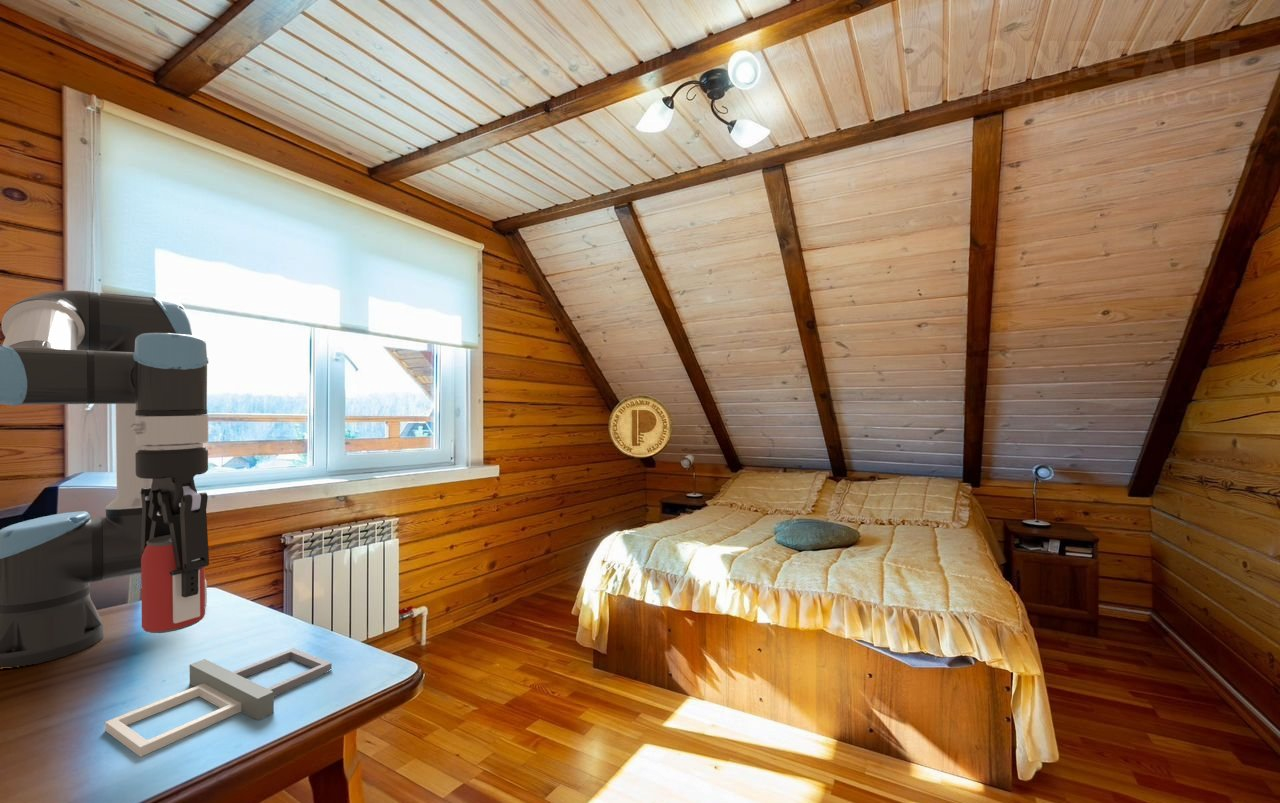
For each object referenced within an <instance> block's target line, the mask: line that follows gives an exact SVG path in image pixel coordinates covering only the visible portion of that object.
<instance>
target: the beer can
mask: <svg viewBox="0 0 1280 803" xmlns="http://www.w3.org/2000/svg"><path fill="white" fill-rule="evenodd" d="M146 544H147V546H146V548H145V550H144V552H143V554H142V558H141V573H140V578H141V579H140V581H141V582H140V584H141V587H140V589H141V590H140V592H141V594H140V595H141V598H140V600H141V628H142V630H143V631H144V632H146V633H149V634H163V633H171V632H176V631H180V630H183V629H186V628H190V627H192V626H194V625H196V624H197V623H199V622H200V621H202V620H203V619H204V618H205V615H206V605H205V580H206V572H205V571H206V568H205V567H206V566H205V567H202V569H200V616H199V617H196V618H193V619H189V620H186V621H182V622H179V623H176V624H175V623H173V576H171V575H170V571H173V570H176V564H175V558H174V552H173V546H172V539H171V535H165V536H160V537H156V538H152V539H150V540H148V541H147V542H146Z"/></svg>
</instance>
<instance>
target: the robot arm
mask: <svg viewBox="0 0 1280 803" xmlns="http://www.w3.org/2000/svg"><path fill="white" fill-rule="evenodd" d="M189 319H190V318H189V316H188V312H187V310H186V308H185V307H184V305H182V304H181V303H180V302H178V301H175V300H170V299H164V298H158V297H155V296H152V297H151V296H142V295H141V296H140V295H127V294H116V293H107V292H105V293H104V292H96V291H95V292H94V291H87V290H58V291H51V292H45V293H41V294H36V295H32V296H28V297H26V298H24V299H21V300H19V301H17V302H15V303H13V304H12V305H11V306H10V307H8V309H7V310H6V312H4V314H3V317H2V319H1V325H0V326H1V330H2V334H3V336H4V337H5V338H4V340H3V343H2V344H1V345H0V405H7V406H10V407H14V406H29V405H31V406H33V405H36V406H37V405H39V406H40V405H115V442H116V443H115V448H116V449H115V450H116V451H115V452H116V454H115V455H116V456H115V459H116V461H115V462H116V463H115V464H116V496H115V498H114V499H113V500H112V501H111V502H110V503H108V505H106V506H105V516H103V517H95V518H91V515H90V513H89V512H88V511H81V510H77V511H73V512H72V511H71V512H62V513H56V514H50V515H47V516H45V515H44V516H40V517H37V518H33V519H27V520H23V521H21V522H17V523H14V524H10V525H8V526H6V527H5V526H4V527H2V528H1V529H0V668H1V667H17V666H23V667H26V666H25V665H29V666H32V665H31V664H34V665H37V664H43V663H46V662H49V661H53V660H56V659H60V658H63V657H67V656H70V655H72V654H74V653H77V652H81V651H83V650H85V649H88V648H89V647H91V646H93V645H96V644H97V643H98V642H100V641H101V640H102V639H103V638H104V633H105V632H104V629H105V628H104V621H103V620H102V618H101V616H100V614H99V612H98V610H97V608H96V606H95V603H94V602H93V600H92V599H91V592H90V591H91V586H90V585H91V584H90V583H94V582H101V581H106V580H111V579H117V578H118V579H119V578H122V577H127V576H129V577H130V576H134V575H139V574H140V575H141V558H142V554H143V552H144V550H145V548H146V546H147V544H146V542H147V541H148V540H150V539H152V538H156V537H160V536H165V535H171V539H172V546H173V552H174V558H175V564H176V570H173V571H170V575H171V576H173V623H175V624H176V623H179V622H182V621H186V620H189V619H193V618H196V617H199V616H200V569H202V567H209V564H210V553H209V552H210V551H209V538H208V537H209V536H208V534H209V533H208V520H207V517H208V516H207V508H208V507H207V506H208V499H209V498H208V497H209V496H208V494H207V492H206V491H205V492H198V489H197V488H196V484H195V478H194V477H196V476H199V475H202V474H205V473H207V472H208V470H209V449H208V448H207V447H206V446H204V444H207V442H209V415H208V409H207V408H208V404H207V403H208V396H207V395H208V364H209V358H208V356H207V355H208V353H207V343H206V341H205V340H204V338H202V337H201V336H197V335H193V333H192V328H191V323H190V320H189ZM17 668H18V667H17Z"/></svg>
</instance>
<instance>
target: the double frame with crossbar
mask: <svg viewBox="0 0 1280 803" xmlns="http://www.w3.org/2000/svg"><path fill="white" fill-rule="evenodd" d="M292 659H293V661H295V662H297V663H299V662H300V664H302V665H305V666H307V667H309V668H310V669H307V670H306V671H303V672H301V673H298V674H296V675H294V676H291V677H290V678H287V679H285V680H283V681H280V682H278V683H275V684H273V685H271V686H269V687H265V686H263V685H261V684H258V683H256V682H254V681H252V680H250V679H248V678H247V677H249V676H252V675H254V674H257V673H260V672H262V671H265V670H267V669H269V668H271V667H274V666H277V665H279V664H282V663H284V662H286V660H287V661H289V660H292ZM332 664H333V663H332V662H330V661H327V660H325V659H323V658H319V657H317V656H314V655H312V654H309V653H307V652H305V651H303V650H302V651H301V650H300V649H296V648H294V647H292V648H289V649H287V650H286V651H282V652H280V653H278V654H275V655H272V656H270V657H267V658H264V659H262V660H259V661H258V662H254V663H252V664H249V665H247V666H244V667H242V668H240V669H237V670H234V671H231V670H229V669H227V668H225V667H222V666H221V665H218V664H216V663H214V662H212V661H210V660H208V659H205V658H204V659H201V660H198V661H195V662H192V663H190V664H189V685H192V686H193V687H191V688H188V689H186V690H183V691H181V692H178V693H175V694H173V695H170V696H168V697H165V698H162V699H160V700H157V701H155V702H152V703H150V704H147V705H145V706H142V707H140V708H139V707H138V708H137V709H134V710H132V711H129V712H127V713H124V714H122V715H120V716H117V717H113V718H112V719H109V720H106V721H104V723H105V725H104V726H105V727H104V730H105V732H107V733H108V734H109V735H111V736H112V737H113V738H114V739H116V740H117V741H118V742H119V743H121V744H122V745H124V746H125V747H126V748H128V749H129V750H130V751H132V753H133V752H134V754H136V755H137V756H138V757H140V758H141V757H143V756H146V755H148V754H150V753H153V752H154V751H157V750H159V749H161V748H164V747H165V746H168V745H170V744H172V743H174V742H177V741H179V740H181V739H183V738H186V737H188V736H190V735H192V734H194V733H196V732H199V731H201V730H203V729H205V728H208V727H210V726H212V725H214V724H216V723H218V722H221V721H223V720H225V719H229V717H231V716H235V715H236V714H238V713H240V712H241V713H244V714H245V715H247V716H249V717H251V718H253V719H255V720H257V721H260V720H262V719H264V718H266V717H268V716H270V715H272V714H275V710H274V709H275V707H274V704H275V703H274V702H275V700H274V699H275V697H276V696H278V695H280V694H282V693H284V692H287V691H289V690H292V689H294V688H296V687H298V686H300V685H302V684H303V685H304V683H307V682H308V681H311V680H314V679H316V678H319V677H320V676H322V675H324V674H323V673H325V672H327V671H329V670H330V669H332V667H333V666H332ZM329 672H330V671H329ZM327 673H328V672H327ZM325 674H326V673H325ZM197 697H199V698H201V699H203V700H205V701H207V702H209V703H211V704H213V705H214V706H216V707H218V709H216V710H214V711H211V712H209V713H207V714H205V715H202V716H200V717H198V718H195V719H194V720H193V719H192V720H190V721H188V722H186V723H184V724H182V725H179V726H177V727H174V728H172V729H170V730H168V731H165V732H164V733H161V734H159V735H156V736H154V737H152V738H149V739H146V738H144V737H143V736H141V735H140V734H139V733H138V732H136V731H135V730H133V729H132V728H131V727H129V725H132V724H134V723H137V722H138V721H141V720H144V719H146V718H149V717H150V716H151V717H152V716H153V715H156V714H158V713H161V712H163V711H165V710H169V709H171V708H173V707H176V706H178V705H180V704H183V703H186V702H188V701H191V700H192V699H193V700H194V699H195V698H197Z"/></svg>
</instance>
